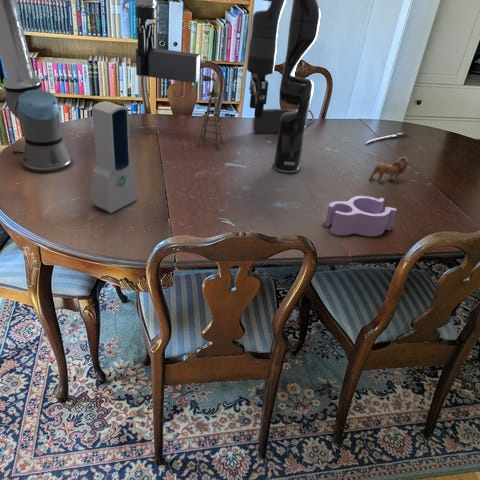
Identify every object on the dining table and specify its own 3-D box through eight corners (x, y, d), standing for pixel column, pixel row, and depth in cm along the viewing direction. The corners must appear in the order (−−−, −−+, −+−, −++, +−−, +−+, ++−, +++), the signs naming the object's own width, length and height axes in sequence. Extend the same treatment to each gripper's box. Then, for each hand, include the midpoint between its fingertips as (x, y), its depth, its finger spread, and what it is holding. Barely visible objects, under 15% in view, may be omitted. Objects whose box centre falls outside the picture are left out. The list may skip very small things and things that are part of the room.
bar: (136, 75, 178) (135, 49, 173) (141, 71, 182) (140, 46, 177) (195, 83, 176) (196, 56, 171) (199, 79, 180) (200, 54, 175)
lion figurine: (397, 176, 178) (404, 154, 173) (406, 182, 174) (413, 159, 169) (364, 178, 173) (370, 156, 168) (373, 185, 169) (379, 162, 164)
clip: (337, 240, 135) (342, 219, 131) (318, 218, 145) (322, 198, 141) (395, 233, 141) (402, 213, 137) (373, 213, 151) (378, 194, 147)
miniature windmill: (217, 149, 184) (223, 71, 168) (196, 146, 185) (200, 68, 169) (222, 142, 191) (228, 66, 175) (203, 138, 192) (206, 63, 176)
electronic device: (108, 214, 135) (101, 113, 119) (90, 206, 138) (81, 106, 122) (138, 199, 144) (135, 103, 128) (120, 191, 147) (115, 96, 131)
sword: (404, 132, 223) (404, 129, 222) (409, 134, 221) (409, 132, 220) (360, 143, 207) (361, 141, 206) (365, 146, 205) (366, 143, 204)
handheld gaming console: (299, 130, 212) (303, 108, 207) (302, 132, 210) (305, 110, 205) (252, 131, 205) (254, 109, 200) (254, 133, 203) (257, 111, 198)
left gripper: (147, 10, 159) (148, 79, 171) (164, 4, 174) (163, 68, 187) (126, 7, 160) (129, 77, 172) (144, 2, 175) (145, 66, 188)
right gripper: (280, 60, 122) (272, 121, 131) (270, 49, 134) (263, 105, 142) (252, 58, 121) (246, 120, 129) (244, 47, 132) (239, 104, 141)
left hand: (147, 72), depth 179 cm, fingers closed on bar, 5 cm apart
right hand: (255, 112), depth 136 cm, fingers open, 8 cm apart
